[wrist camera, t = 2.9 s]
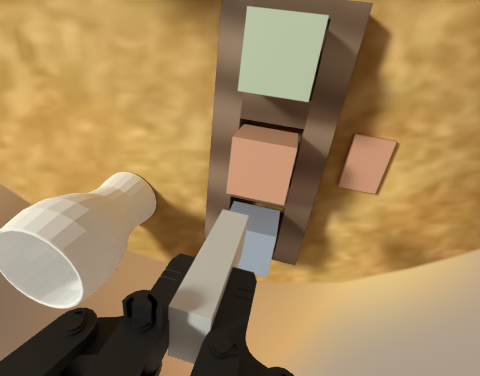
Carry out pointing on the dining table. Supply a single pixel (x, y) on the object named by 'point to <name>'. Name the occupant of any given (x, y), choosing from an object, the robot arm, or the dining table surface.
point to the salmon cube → (261, 163)
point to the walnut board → (283, 110)
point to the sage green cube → (280, 52)
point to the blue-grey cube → (258, 237)
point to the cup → (73, 240)
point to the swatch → (366, 163)
